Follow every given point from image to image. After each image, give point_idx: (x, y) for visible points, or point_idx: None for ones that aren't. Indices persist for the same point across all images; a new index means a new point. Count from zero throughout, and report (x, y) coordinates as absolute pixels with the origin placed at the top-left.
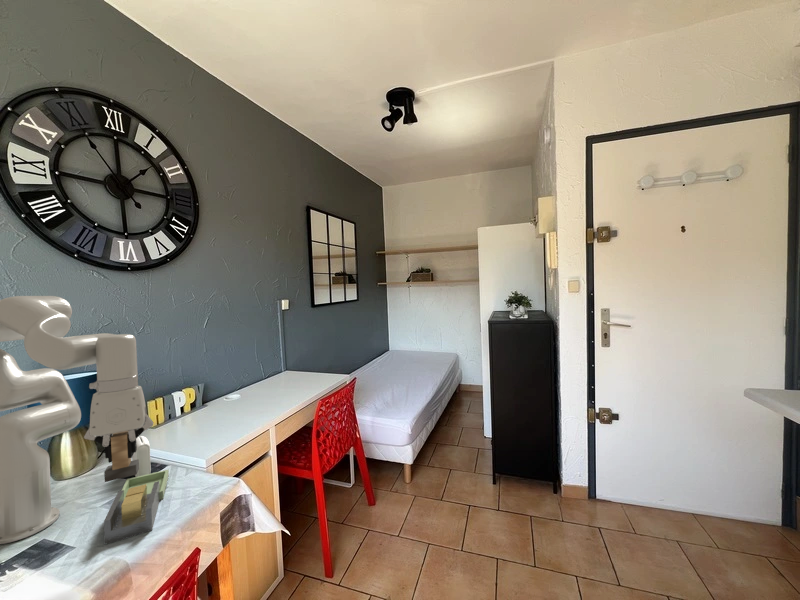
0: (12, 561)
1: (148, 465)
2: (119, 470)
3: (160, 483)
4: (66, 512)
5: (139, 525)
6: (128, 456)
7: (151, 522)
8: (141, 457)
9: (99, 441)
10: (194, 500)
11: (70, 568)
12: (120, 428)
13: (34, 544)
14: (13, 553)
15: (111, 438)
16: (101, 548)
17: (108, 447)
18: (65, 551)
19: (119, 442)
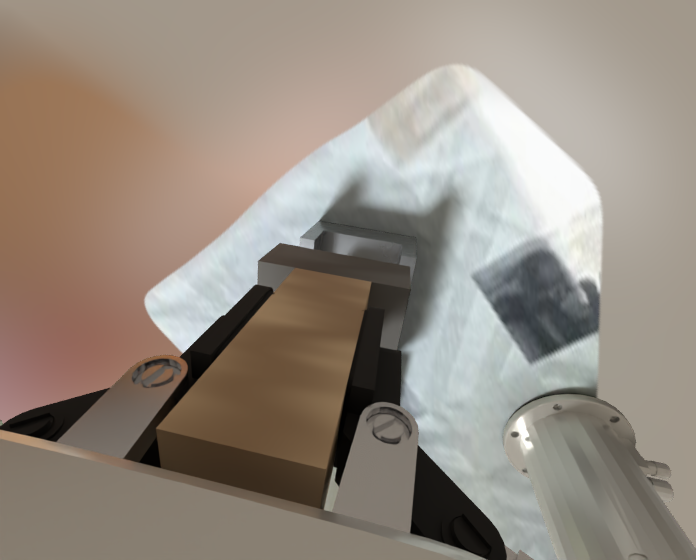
0: (588, 317)
1: (328, 490)
2: (340, 270)
3: None
4: (489, 437)
5: (340, 230)
6: (268, 292)
7: (314, 226)
8: None
9: (447, 496)
10: (232, 284)
11: (482, 190)
12: (75, 537)
13: (548, 354)
14: (586, 349)
15: (321, 457)
16: (422, 227)
17: (369, 383)
18: (492, 275)
19: (269, 383)
